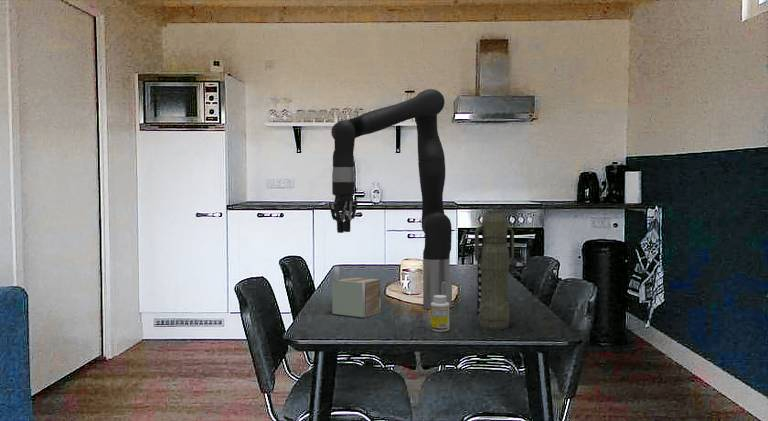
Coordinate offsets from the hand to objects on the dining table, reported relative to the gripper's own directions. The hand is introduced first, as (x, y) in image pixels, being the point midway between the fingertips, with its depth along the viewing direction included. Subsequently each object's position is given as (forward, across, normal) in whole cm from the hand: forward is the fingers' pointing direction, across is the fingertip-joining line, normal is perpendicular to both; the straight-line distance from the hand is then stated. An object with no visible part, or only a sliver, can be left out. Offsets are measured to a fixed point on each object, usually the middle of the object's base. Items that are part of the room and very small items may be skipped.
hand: (343, 232), depth 221 cm
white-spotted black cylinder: (+27, +19, -44) cm, 56 cm away
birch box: (+27, +1, -4) cm, 28 cm away
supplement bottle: (+27, -8, -40) cm, 49 cm away
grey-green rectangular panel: (+27, -5, -5) cm, 28 cm away
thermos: (+27, +5, -52) cm, 59 cm away
